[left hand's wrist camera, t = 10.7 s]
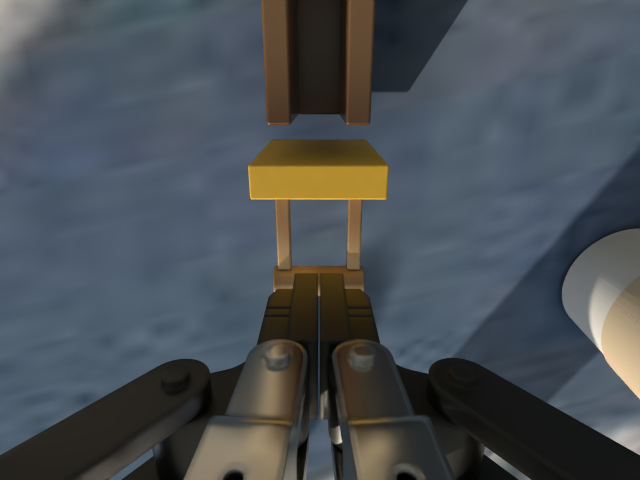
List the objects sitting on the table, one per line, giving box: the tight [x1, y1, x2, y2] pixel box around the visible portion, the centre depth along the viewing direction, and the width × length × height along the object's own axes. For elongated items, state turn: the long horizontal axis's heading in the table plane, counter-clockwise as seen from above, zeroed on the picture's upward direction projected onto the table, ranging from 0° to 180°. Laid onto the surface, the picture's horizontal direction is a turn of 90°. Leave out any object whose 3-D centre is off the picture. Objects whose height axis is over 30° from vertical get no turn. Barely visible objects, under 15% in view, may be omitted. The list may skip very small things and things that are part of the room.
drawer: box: [248, 0, 389, 296], centre depth 15 cm, size 22×5×7 cm, turn 0°
